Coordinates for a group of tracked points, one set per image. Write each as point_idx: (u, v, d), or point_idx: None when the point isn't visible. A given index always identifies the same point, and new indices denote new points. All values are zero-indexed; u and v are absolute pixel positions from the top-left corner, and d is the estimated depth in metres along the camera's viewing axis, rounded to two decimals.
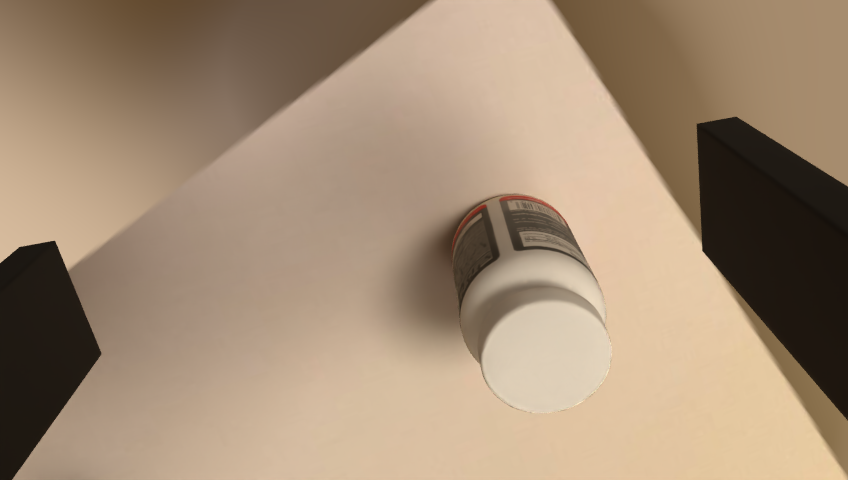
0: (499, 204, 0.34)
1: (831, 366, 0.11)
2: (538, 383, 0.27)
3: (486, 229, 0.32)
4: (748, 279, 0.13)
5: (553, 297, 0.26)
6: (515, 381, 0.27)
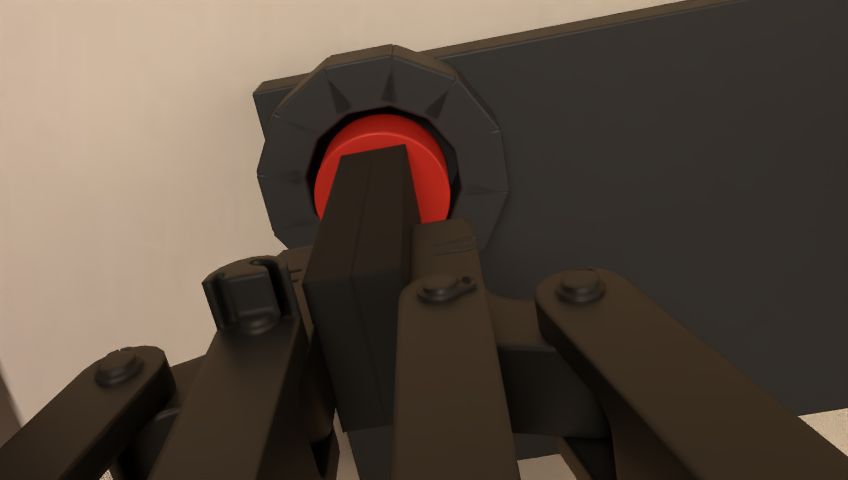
0: None
1: None
2: None
3: None
4: None
5: None
6: None
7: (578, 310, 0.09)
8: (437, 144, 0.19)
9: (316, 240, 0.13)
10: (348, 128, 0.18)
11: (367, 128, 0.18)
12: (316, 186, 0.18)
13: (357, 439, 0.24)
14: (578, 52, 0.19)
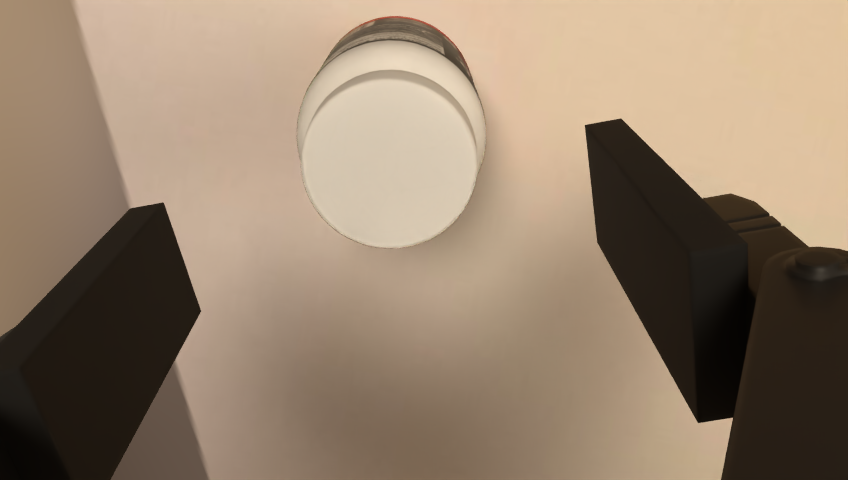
0: None
1: (668, 341, 0.12)
2: (417, 191, 0.20)
3: None
4: (622, 266, 0.14)
5: (311, 119, 0.20)
6: (400, 216, 0.20)
7: None
8: None
9: (24, 318, 0.12)
10: None
11: None
12: None
13: None
14: None
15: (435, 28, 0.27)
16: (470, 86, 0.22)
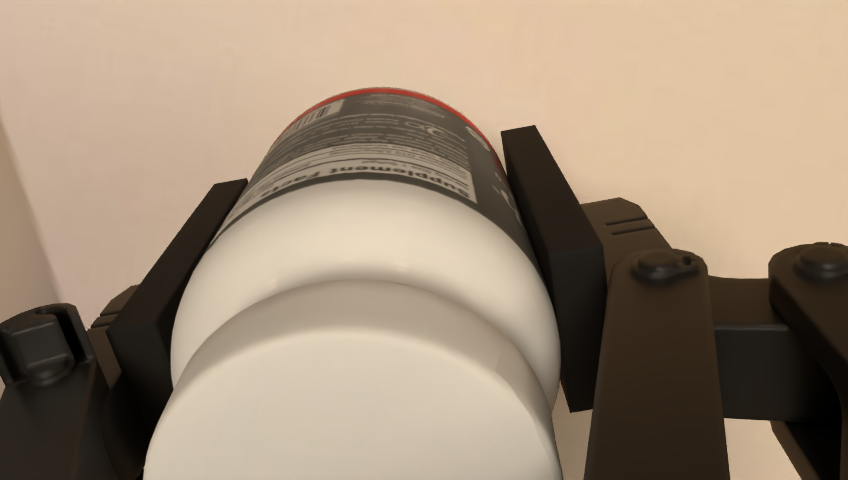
0: None
1: None
2: None
3: None
4: None
5: (165, 408, 0.08)
6: None
7: (818, 286, 0.09)
8: None
9: (143, 280, 0.12)
10: None
11: None
12: None
13: None
14: None
15: (450, 110, 0.16)
16: (532, 275, 0.10)
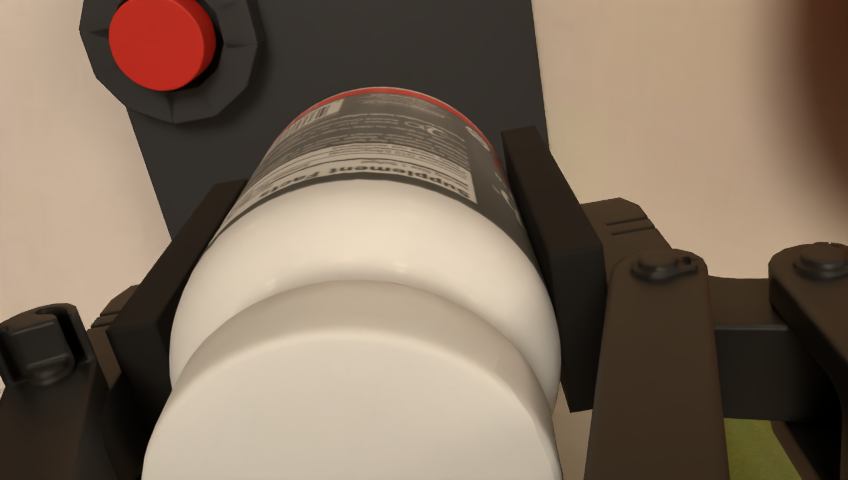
0: None
1: None
2: None
3: None
4: None
5: (164, 410, 0.08)
6: None
7: (818, 286, 0.09)
8: (204, 12, 0.27)
9: (143, 280, 0.12)
10: None
11: None
12: (109, 35, 0.26)
13: None
14: None
15: (450, 109, 0.16)
16: (532, 275, 0.10)
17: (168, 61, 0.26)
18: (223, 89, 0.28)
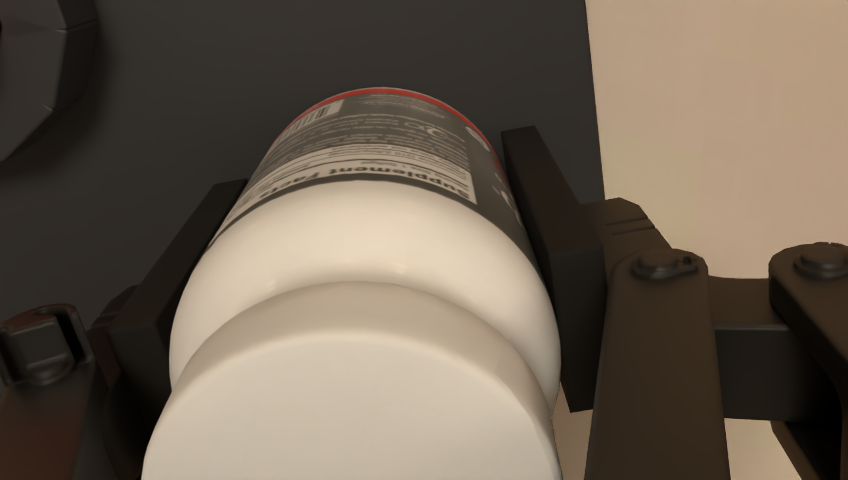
0: None
1: None
2: None
3: None
4: None
5: None
6: None
7: (818, 286, 0.09)
8: None
9: (143, 280, 0.12)
10: None
11: None
12: None
13: None
14: None
15: (450, 110, 0.16)
16: (532, 276, 0.10)
17: None
18: (10, 114, 0.15)
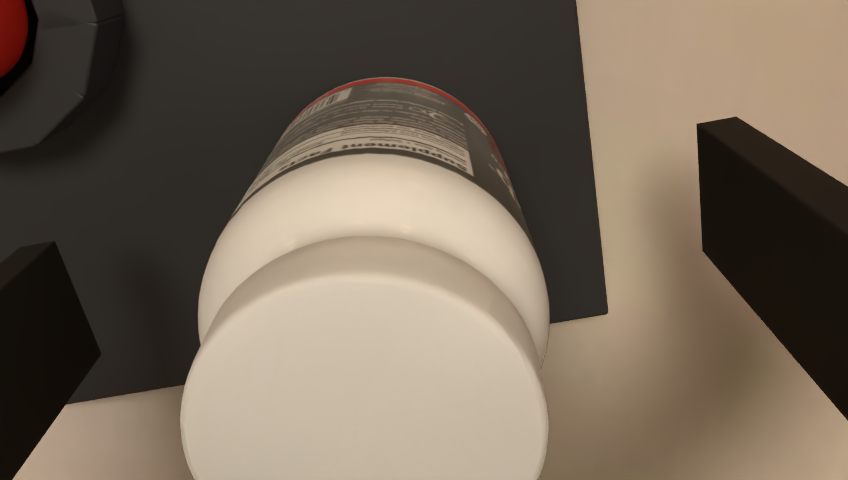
0: None
1: (831, 366, 0.11)
2: None
3: None
4: (749, 279, 0.13)
5: (201, 347, 0.09)
6: None
7: None
8: None
9: None
10: None
11: None
12: None
13: None
14: None
15: (450, 98, 0.17)
16: (523, 239, 0.12)
17: None
18: (44, 101, 0.16)
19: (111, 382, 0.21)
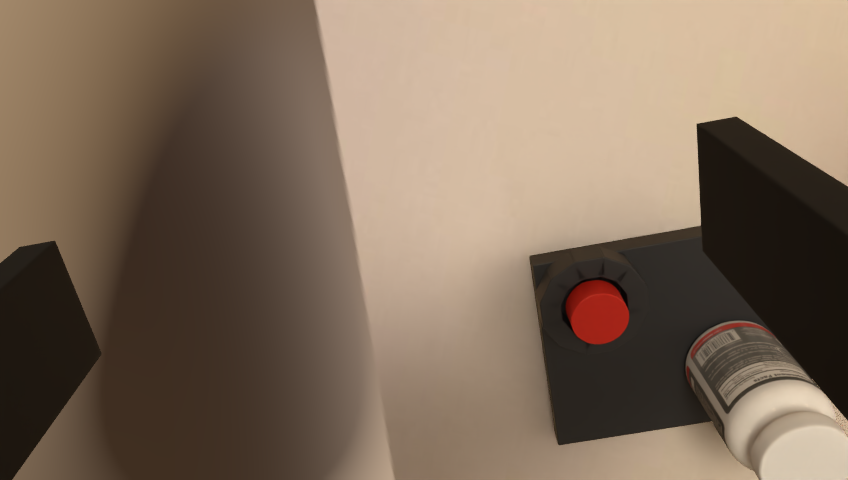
0: (693, 362, 0.45)
1: (831, 366, 0.11)
2: (820, 475, 0.37)
3: (702, 394, 0.43)
4: (748, 279, 0.13)
5: (769, 441, 0.37)
6: None
7: None
8: (619, 293, 0.43)
9: None
10: (583, 287, 0.42)
11: (594, 290, 0.42)
12: (572, 314, 0.42)
13: (559, 421, 0.48)
14: (678, 249, 0.43)
15: (767, 331, 0.44)
16: (831, 404, 0.39)
17: (605, 328, 0.42)
18: (622, 335, 0.44)
19: (595, 433, 0.48)
